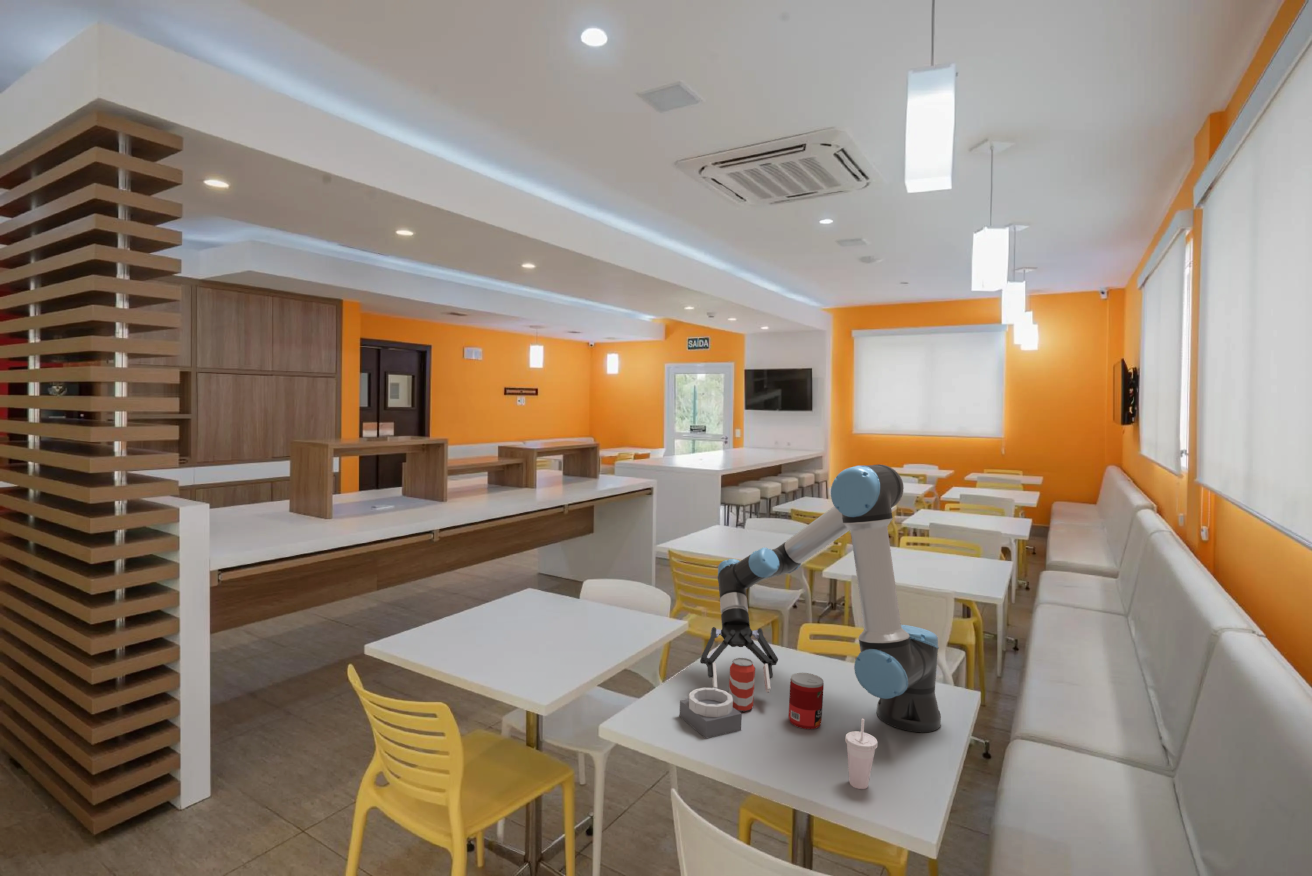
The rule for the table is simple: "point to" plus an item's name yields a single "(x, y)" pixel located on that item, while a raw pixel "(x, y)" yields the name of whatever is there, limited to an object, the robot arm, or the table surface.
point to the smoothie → (860, 757)
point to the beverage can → (742, 683)
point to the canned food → (806, 700)
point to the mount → (710, 712)
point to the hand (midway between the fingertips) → (741, 690)
